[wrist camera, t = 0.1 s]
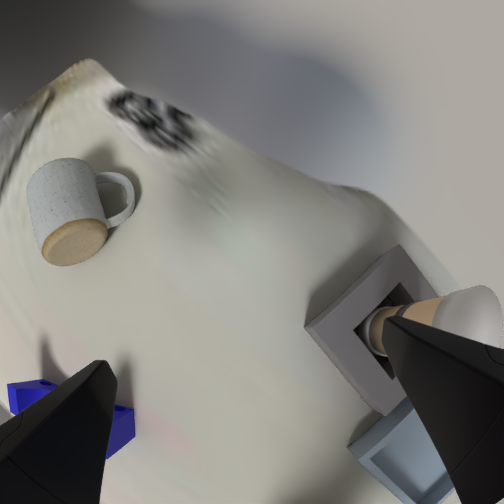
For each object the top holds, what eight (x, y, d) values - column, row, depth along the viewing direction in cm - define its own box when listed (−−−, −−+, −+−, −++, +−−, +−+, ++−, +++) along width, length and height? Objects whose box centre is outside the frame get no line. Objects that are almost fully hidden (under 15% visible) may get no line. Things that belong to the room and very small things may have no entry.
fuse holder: (438, 331, 22) (459, 330, 18) (369, 406, 20) (385, 416, 17) (382, 254, 24) (399, 244, 20) (303, 327, 22) (312, 327, 19)
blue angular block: (46, 414, 19) (12, 424, 14) (43, 378, 21) (7, 383, 15) (136, 448, 19) (109, 473, 13) (134, 408, 20) (103, 427, 15)
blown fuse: (406, 331, 22) (510, 325, 9) (376, 363, 21) (474, 386, 9) (381, 298, 23) (481, 268, 10) (349, 330, 22) (441, 329, 9)
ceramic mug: (71, 278, 23) (22, 259, 16) (53, 217, 25) (13, 188, 18) (152, 222, 25) (119, 183, 18) (125, 165, 27) (96, 122, 19)
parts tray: (490, 424, 18) (504, 428, 15) (411, 508, 16) (422, 519, 13) (446, 344, 21) (464, 344, 18) (346, 447, 19) (357, 460, 16)
